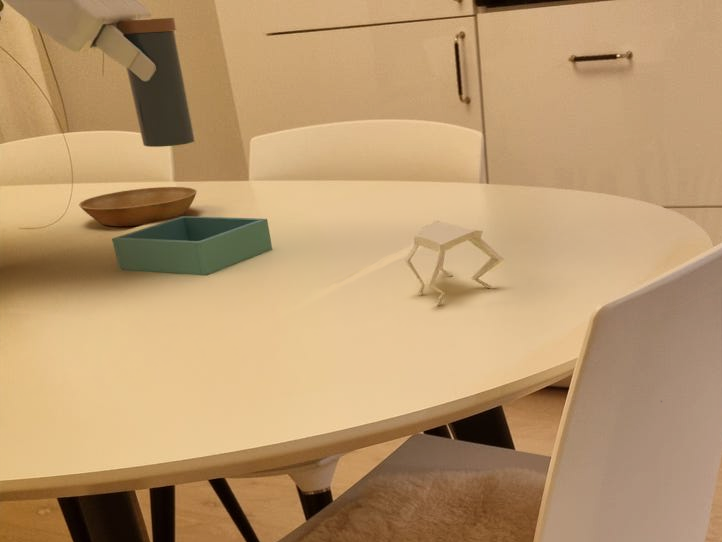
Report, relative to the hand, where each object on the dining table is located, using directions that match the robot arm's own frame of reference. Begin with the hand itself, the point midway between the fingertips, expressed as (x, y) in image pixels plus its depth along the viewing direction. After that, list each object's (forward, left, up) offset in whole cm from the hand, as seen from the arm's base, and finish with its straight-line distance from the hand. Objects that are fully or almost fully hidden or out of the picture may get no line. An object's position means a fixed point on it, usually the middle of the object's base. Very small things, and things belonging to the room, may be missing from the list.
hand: (161, 72), depth 89 cm
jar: (-1, 0, -6) cm, 6 cm away
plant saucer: (-25, +20, -17) cm, 37 cm away
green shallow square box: (0, 0, -17) cm, 17 cm away
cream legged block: (+31, -3, -17) cm, 35 cm away
